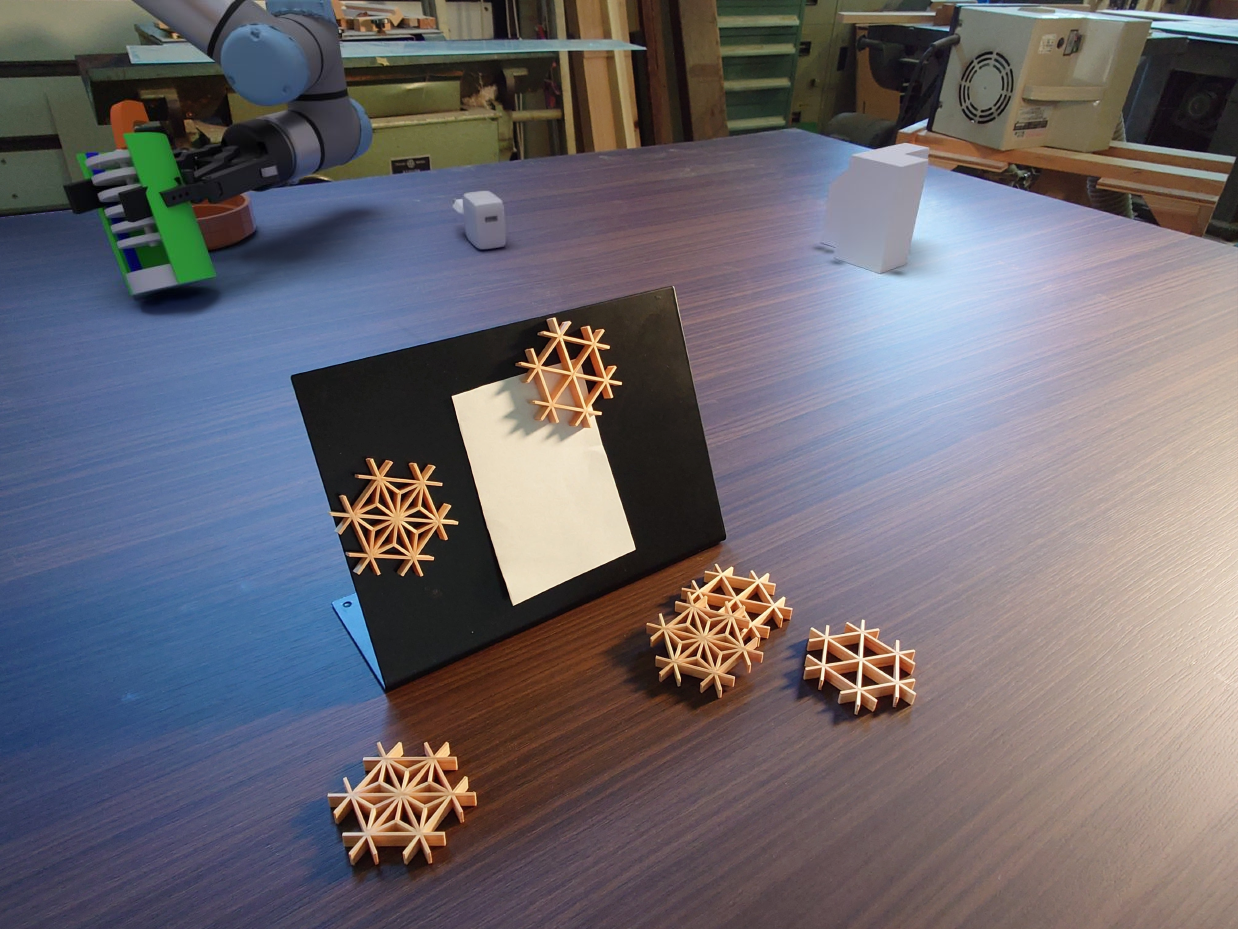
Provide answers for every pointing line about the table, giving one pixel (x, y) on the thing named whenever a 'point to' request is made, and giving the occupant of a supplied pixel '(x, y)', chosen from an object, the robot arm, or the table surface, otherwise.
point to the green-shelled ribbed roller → (172, 235)
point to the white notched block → (876, 206)
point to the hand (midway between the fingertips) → (98, 203)
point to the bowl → (225, 221)
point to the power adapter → (482, 219)
